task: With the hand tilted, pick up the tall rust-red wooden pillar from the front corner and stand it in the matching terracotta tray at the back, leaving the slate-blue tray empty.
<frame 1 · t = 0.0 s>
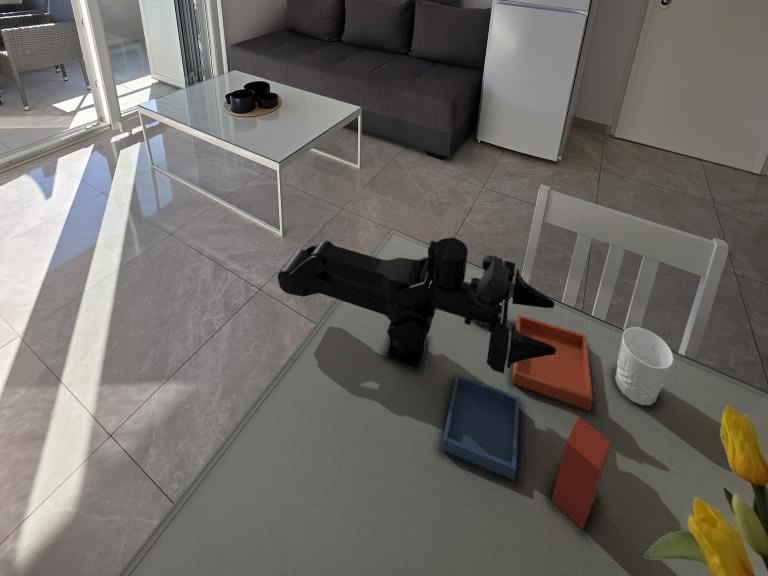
hand: (554, 326, 72), 17 cm above the table, tool horizontal, fingers open, 9 cm apart
red tray: (549, 363, 83), on the table
white cup: (635, 387, 79), on the table
red pillar: (572, 500, 63), on the table
watch: (485, 317, 92), on the table
blue tray: (481, 427, 72), on the table
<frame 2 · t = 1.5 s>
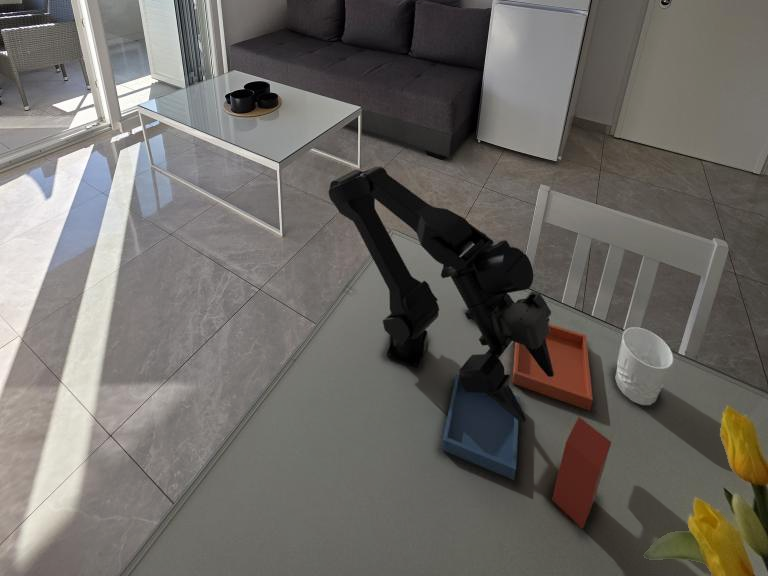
hand: (538, 397, 64), 14 cm above the table, tool tilted 45°, fingers open, 9 cm apart
nothing on the table moved.
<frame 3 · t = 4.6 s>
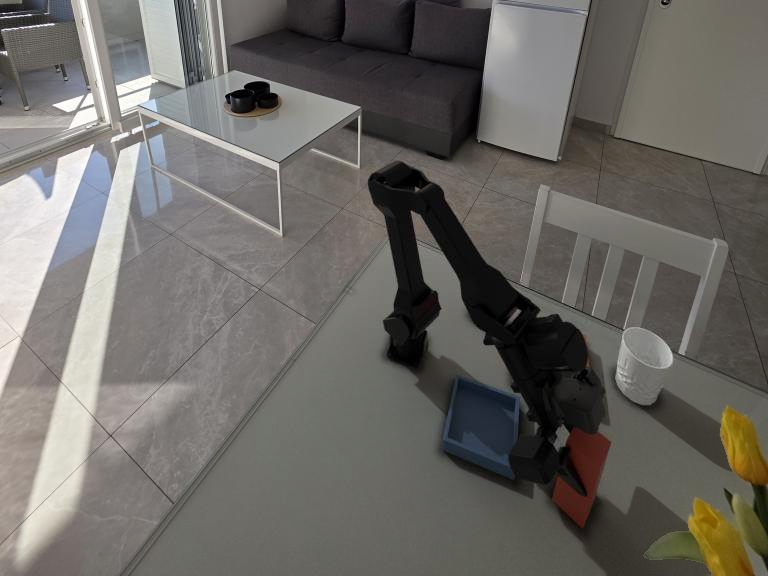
hand: (590, 480, 60), 7 cm above the table, tool tilted 45°, fingers closed on red pillar, 4 cm apart
red pillar: (573, 500, 63), on the table, touching gripper
everything else where it was.
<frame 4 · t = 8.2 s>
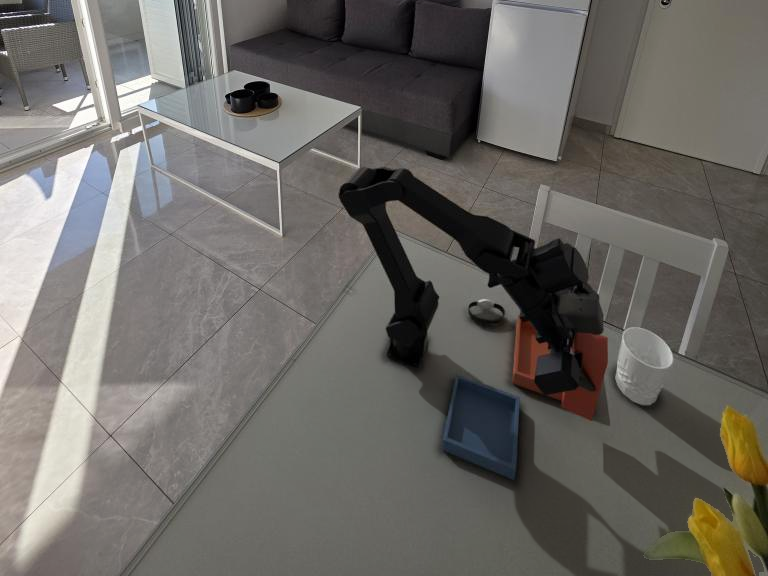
hand: (593, 376, 68), 13 cm above the table, tool tilted 45°, fingers closed on red pillar, 4 cm apart
red pillar: (577, 401, 71), point 6 cm above the table, touching gripper
everything else where it was.
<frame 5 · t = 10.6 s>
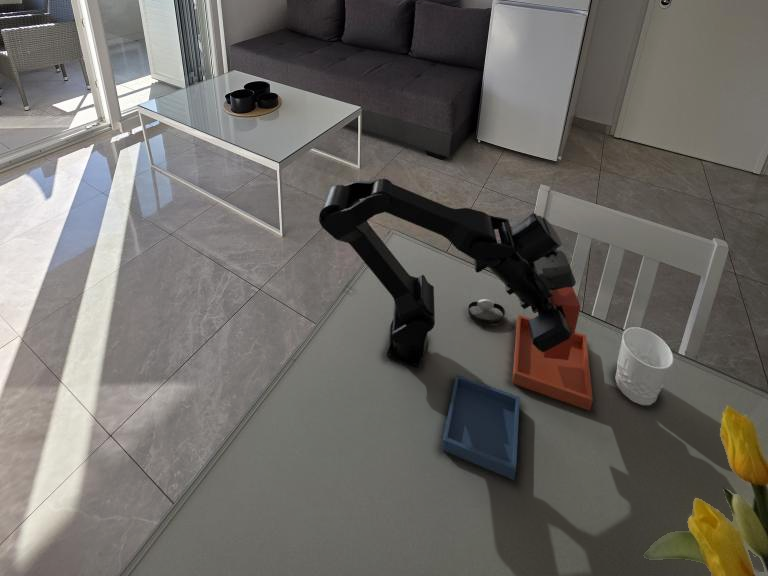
hand: (565, 322, 80), 11 cm above the table, tool tilted 45°, fingers closed on red pillar, 4 cm apart
red pillar: (552, 347, 82), point 4 cm above the table, touching gripper
everything else where it was.
when the fingers open (7 cm above the table, at t = 12.1 s): red pillar stays where it is, resting on red tray.
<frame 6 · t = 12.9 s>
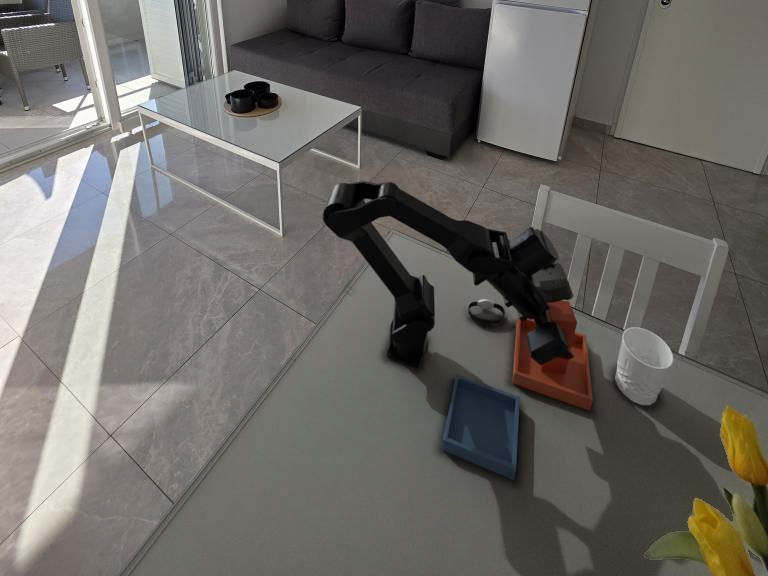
hand: (563, 334, 80), 8 cm above the table, tool tilted 45°, fingers open, 9 cm apart
red pillar: (549, 361, 83), resting on red tray
everything else where it was.
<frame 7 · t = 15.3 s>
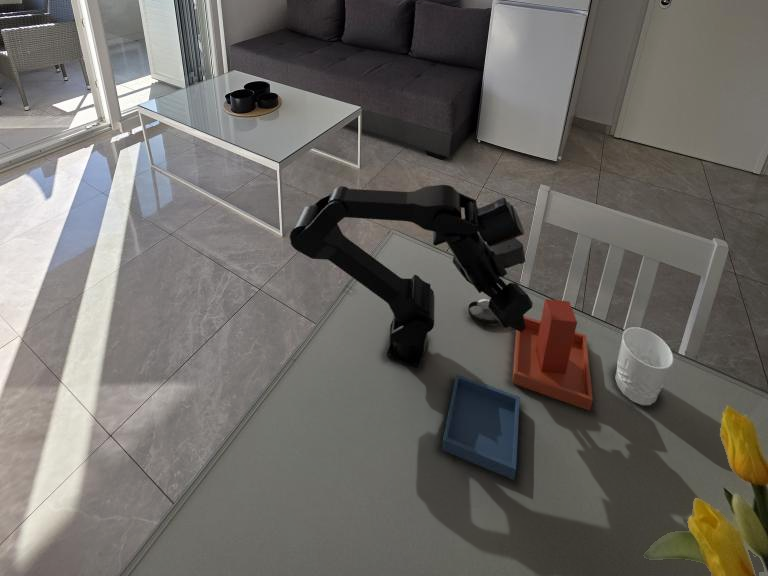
hand: (508, 312, 79), 12 cm above the table, tool tilted 30°, fingers open, 9 cm apart
nothing on the table moved.
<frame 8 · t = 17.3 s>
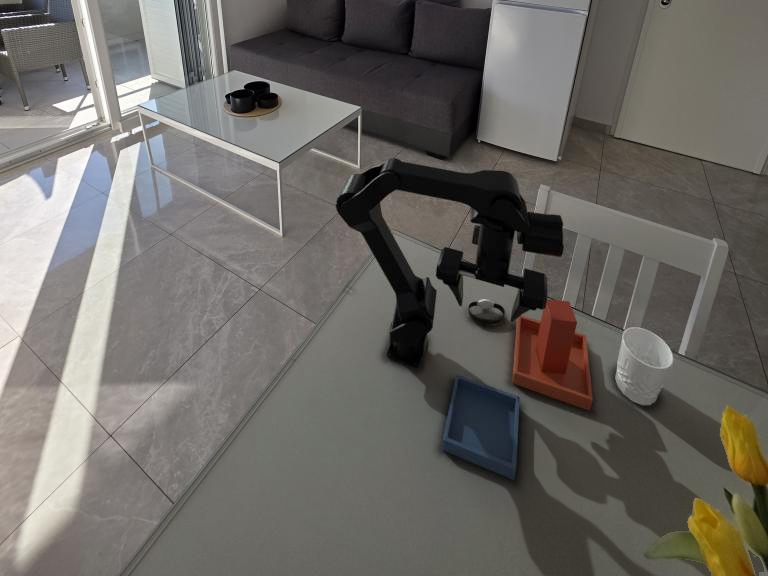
hand: (485, 312, 78), 13 cm above the table, tool pointing down, fingers open, 9 cm apart
nothing on the table moved.
at the end: red pillar inside the target area in the red tray (0.0 cm from its centre), point 0.5 cm above the red tray's base; red pillar tilted 0° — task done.
